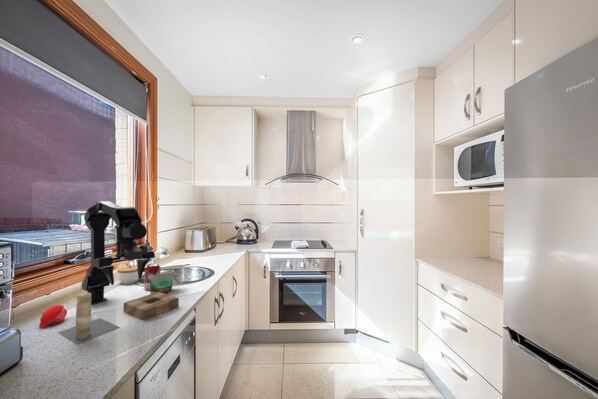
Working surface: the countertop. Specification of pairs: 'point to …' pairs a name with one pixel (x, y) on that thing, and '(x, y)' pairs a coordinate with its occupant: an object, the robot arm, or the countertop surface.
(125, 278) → the lidded jar
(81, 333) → the peg
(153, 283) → the food container
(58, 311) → the cap
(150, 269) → the soda can
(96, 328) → the mat
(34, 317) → the countertop surface
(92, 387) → the countertop surface
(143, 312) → the hole block
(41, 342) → the countertop surface
